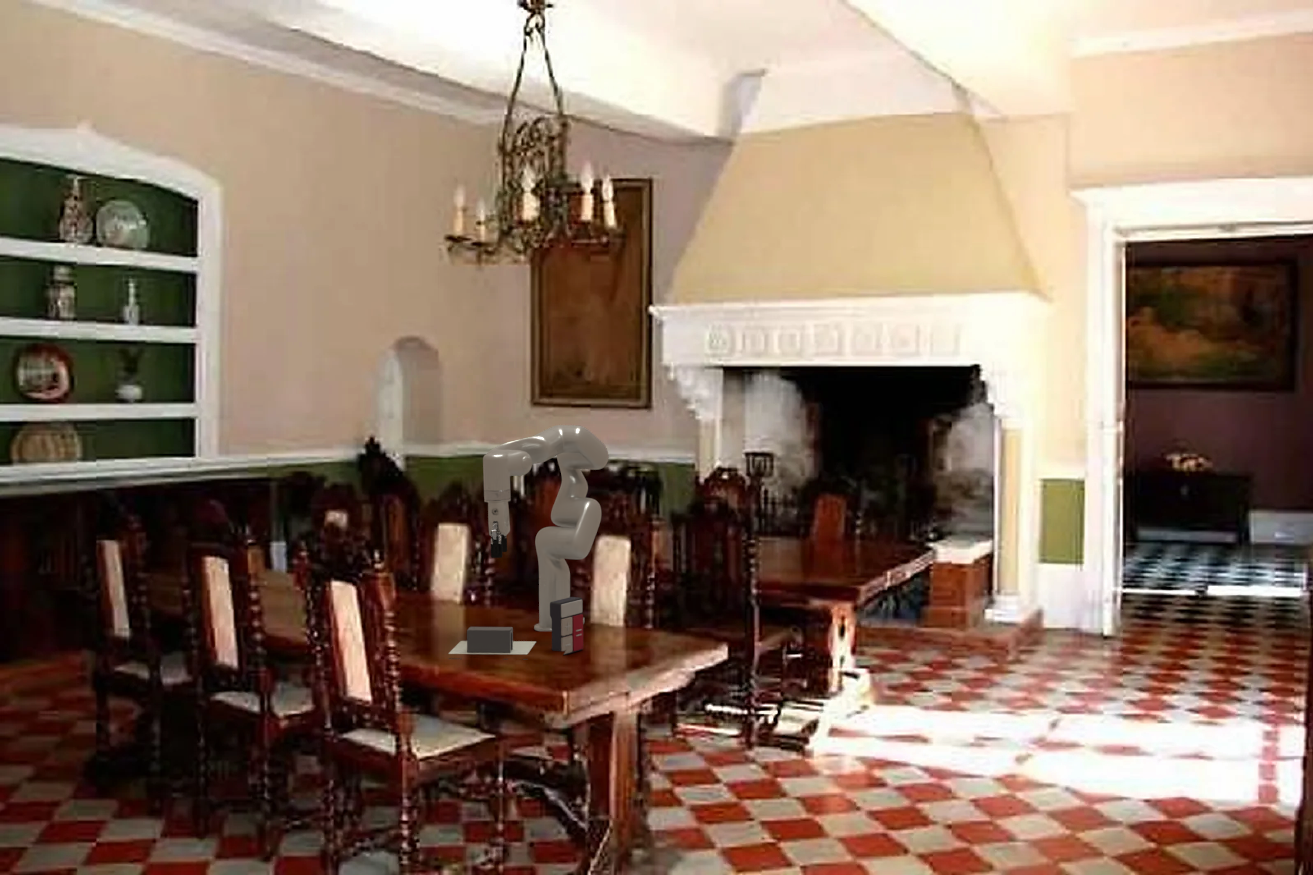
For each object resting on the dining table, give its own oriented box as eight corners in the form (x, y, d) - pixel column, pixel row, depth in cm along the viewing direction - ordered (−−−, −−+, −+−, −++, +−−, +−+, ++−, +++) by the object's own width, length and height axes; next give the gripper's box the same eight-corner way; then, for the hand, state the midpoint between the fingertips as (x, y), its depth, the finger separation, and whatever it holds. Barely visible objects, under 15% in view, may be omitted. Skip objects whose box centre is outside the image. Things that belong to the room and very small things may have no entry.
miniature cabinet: (562, 656, 388) (562, 603, 387) (549, 655, 390) (549, 602, 389) (585, 650, 397) (584, 597, 396) (572, 648, 399) (572, 596, 399)
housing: (512, 649, 391) (512, 627, 391) (510, 652, 386) (509, 630, 386) (470, 648, 391) (470, 626, 391) (467, 652, 386) (466, 630, 386)
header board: (536, 646, 402) (536, 626, 402) (527, 659, 384) (527, 638, 384) (460, 646, 403) (460, 625, 403) (448, 659, 385) (448, 637, 385)
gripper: (506, 499, 392) (508, 559, 394) (514, 491, 409) (516, 549, 411) (479, 500, 392) (481, 560, 394) (489, 492, 410) (490, 550, 411)
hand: (499, 554), depth 402 cm, fingers open, 9 cm apart
